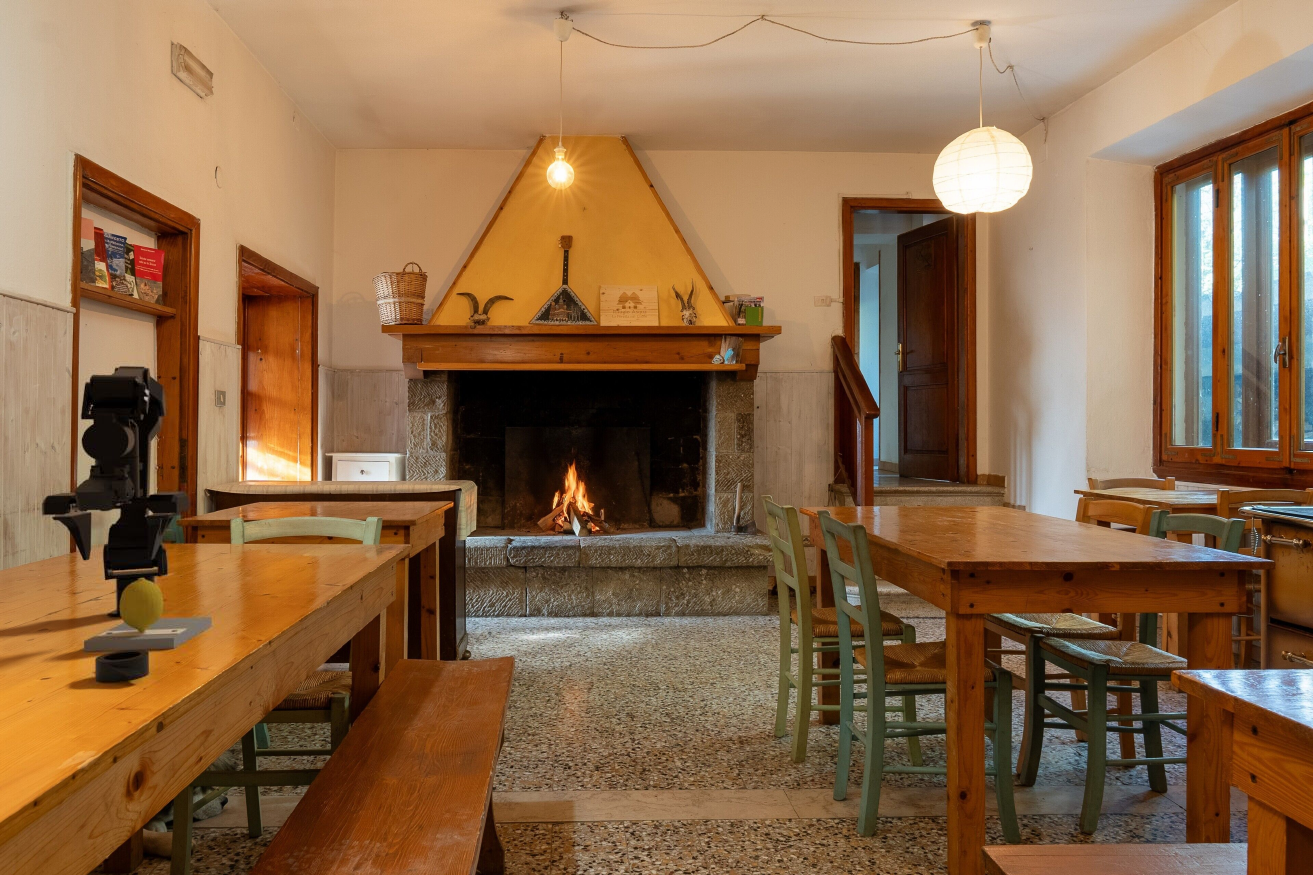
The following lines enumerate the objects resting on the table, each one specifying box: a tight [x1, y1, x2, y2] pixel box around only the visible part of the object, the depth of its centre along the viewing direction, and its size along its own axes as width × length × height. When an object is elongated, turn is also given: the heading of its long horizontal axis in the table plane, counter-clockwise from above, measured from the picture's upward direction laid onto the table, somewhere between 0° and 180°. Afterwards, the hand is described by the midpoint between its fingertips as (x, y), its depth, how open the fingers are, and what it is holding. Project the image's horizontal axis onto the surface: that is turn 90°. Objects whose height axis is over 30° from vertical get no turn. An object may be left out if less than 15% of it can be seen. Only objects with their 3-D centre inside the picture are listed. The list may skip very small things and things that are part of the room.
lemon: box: [120, 578, 164, 632], centre depth 128 cm, size 6×6×8 cm
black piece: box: [94, 649, 150, 684], centre depth 111 cm, size 8×10×3 cm
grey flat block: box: [83, 616, 212, 653], centre depth 131 cm, size 14×12×2 cm
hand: (119, 559), depth 133 cm, fingers open, 9 cm apart
